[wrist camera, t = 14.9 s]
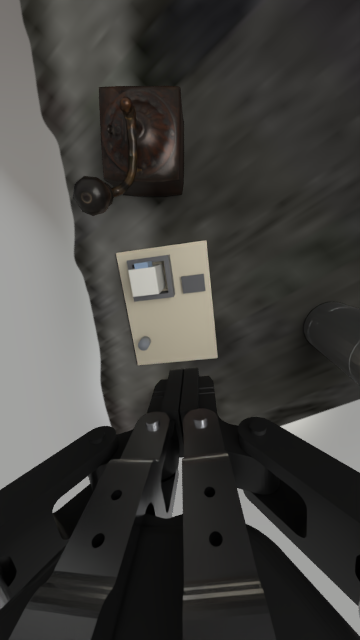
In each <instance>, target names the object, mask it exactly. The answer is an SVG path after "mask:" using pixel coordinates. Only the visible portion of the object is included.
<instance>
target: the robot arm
mask: <svg viewBox="0 0 360 640" xmlns="http://www.w3.org/2000/svg"><path fill="white" fill-rule="evenodd" d="M304 334H305V337H306V339H307V340H308V342H309V343H310V344H311V345H313V346H314V347H315V348H316V349H317V350H319V351H320V352H321V353H322V354H323V355H324V356H326V357H327V358H328V359H329V360H330V361H331V362H333V363H334V364H335V365H336V366H337V367H339V368H340V369H341V370H342V371H343V372H345V373H346V374H347V375H348V376H349V377H350V378H352V379H353V380H354V381H355V382H356V383H358V384H359V385H360V309H359V308H357V307H351V306H348V305H346V304H343V303H340V302H327V303H324V304H321V305H319V306H317V307H316V308H315V309H313V310H312V311H311V312H310V314H309V315H308V317H307V318H306V321H305V323H304ZM179 457H184V458H183V459H182V486H183V514H182V515H178V516H175V517H172V512H173V506H174V500H175V493H176V488H177V482H178V475H179V473H178V463H179ZM87 476H88V477H89V480H90V483H91V484H89V485H88V486H87V487H86V488H85V489H83V490H82V491H81V492H80V493H78V494H77V495H76V496H75V497H74V498H73V499H71V500H70V501H69V502H68V503H66V504H65V505H64V506H63V507H62V508H60V509H59V510H58V511H56V512H55V513H52V510H53V507H54V505H55V503H56V502H57V500H58V499H59V498H60V497H61V496H63V495H64V494H65V493H67V492H68V491H69V490H70V489H72V488H73V487H74V486H75V485H77V484H78V483H79V482H81V481H82V480H83V479H84V478H86V477H87ZM237 488H239V489H243V491H244V494H245V496H246V497H247V498H248V499H249V500H250V501H251V502H252V503H253V504H254V505H255V506H256V507H257V508H258V509H259V510H260V511H261V512H262V513H263V514H264V515H265V516H266V517H267V518H268V519H269V520H270V521H271V522H272V523H273V524H274V525H275V526H276V527H277V528H278V529H279V530H280V531H281V532H282V533H283V534H285V535H286V536H287V537H288V538H289V539H290V540H291V541H292V542H293V543H294V544H295V545H296V546H297V547H298V548H299V549H300V550H301V551H302V552H303V553H304V554H305V555H306V556H307V557H308V558H309V559H310V560H311V561H312V562H313V563H314V564H316V566H317V567H318V568H319V569H321V570H322V571H323V572H324V573H325V574H326V575H327V576H328V577H329V578H330V579H331V580H332V581H333V582H334V583H335V584H336V585H337V586H338V587H339V588H340V589H341V590H342V591H343V592H344V593H345V594H346V595H347V596H348V597H349V598H350V599H351V600H352V601H353V602H354V603H356V604H357V605H358V606H359V616H360V473H359V472H357V471H356V470H354V469H352V468H350V467H349V466H347V465H345V464H343V463H341V462H340V461H338V460H337V459H335V458H333V457H331V456H330V455H328V454H326V453H325V452H323V451H321V450H319V449H318V448H316V447H314V446H312V445H311V444H309V443H307V442H306V441H304V440H302V439H300V438H299V437H297V436H295V435H294V434H292V433H290V432H288V431H287V430H285V429H283V428H281V427H280V426H278V425H276V424H275V423H273V422H271V421H269V420H267V419H265V418H260V417H251V418H247V419H245V420H243V421H242V422H241V423H240V424H239V426H237V425H232V424H228V423H226V422H224V421H223V420H221V419H220V418H219V416H218V414H217V408H216V400H215V392H214V383H213V380H212V379H211V378H210V377H209V376H201V377H199V371H198V368H186V369H175V370H170V372H169V377H168V379H165V380H160V381H159V382H158V383H157V385H156V386H155V389H154V393H153V395H152V399H151V402H150V405H149V408H148V412H147V414H145V415H143V416H142V417H141V418H140V419H139V420H138V421H137V423H136V425H135V427H134V429H133V430H131V431H128V432H124V433H121V434H118V435H116V431H115V429H114V428H112V427H110V426H102V427H98V428H95V429H93V430H91V431H89V432H88V433H86V434H85V435H83V436H82V437H80V438H79V439H77V440H76V441H74V442H73V443H71V444H70V445H68V446H67V447H65V448H63V449H62V450H60V451H59V452H57V453H56V454H54V455H53V456H51V457H50V458H48V459H47V460H45V461H44V462H42V463H41V464H39V465H38V466H36V467H34V468H33V469H31V470H30V471H29V472H27V473H25V474H24V475H22V476H21V477H19V478H18V479H16V480H15V481H13V482H12V483H10V484H9V485H7V486H6V487H4V488H3V489H1V490H0V640H360V636H359V635H358V634H357V633H356V632H355V631H354V630H353V629H352V627H351V626H350V625H349V624H348V623H347V622H346V621H345V620H344V618H343V617H342V616H341V615H340V614H339V613H338V612H337V611H336V610H335V609H334V608H333V606H332V605H331V604H330V603H329V602H328V601H327V600H326V599H325V598H324V597H323V595H322V594H320V592H319V591H318V590H317V589H316V588H315V587H314V586H313V584H312V583H311V582H310V581H309V580H308V579H307V578H306V577H305V576H304V574H303V573H302V572H301V571H300V570H299V569H298V568H297V567H296V566H295V565H294V563H292V561H291V560H290V559H289V558H288V557H287V556H286V555H285V553H284V552H282V550H281V549H280V548H279V547H278V546H277V545H276V544H275V543H274V542H273V541H272V540H270V539H269V538H268V537H267V536H266V535H264V534H263V533H261V532H260V531H259V530H257V529H255V528H253V527H252V526H249V525H247V524H245V520H244V516H243V512H242V508H241V503H240V500H239V495H238V491H237Z"/></svg>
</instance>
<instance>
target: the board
mask: <svg viewBox="0 0 360 640" xmlns="http://www.w3.org/2000/svg"><path fill="white" fill-rule="evenodd" d="M116 256H117V261H118V266H119V271H120V276H121V281H122V286H123V292H124V297H125V302H126V307H127V312H128V317H129V322H130V327H131V332H132V337H133V342H134V347H135V352H136V357H137V362H138V365H146V364H157V363H168V362H179V361H190V360H201V359H212V358H218V356H217V346H216V335H215V325H214V315H213V305H212V294H211V284H210V274H209V264H208V253H207V243H206V241H198V242H191V243H184V244H177V245H170V246H163V247H156V248H149V249H141V250H134V251H127V252H120V253H116ZM147 261H152V265H155V264H163V270H164V277H165V284H166V286H165V288H164V289H163V290H162V291H161V292H160V293H159V294H154V295H145V296H137V297H133V293H132V288H131V282H130V277H129V271H128V270H131V269H134V268H135V267H134V264H135V263H139V262H147Z"/></svg>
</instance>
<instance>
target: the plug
mask: <svg viewBox="0 0 360 640" xmlns="http://www.w3.org/2000/svg"><path fill="white" fill-rule="evenodd" d="M134 267H135V268H134V269H131V270H128V271H129V277H130V282H131V288H132V293H133V297H137V296H145V295H154V294H159V293H160V292H161V291H162V290H163V289H164V288H165V286H166V284H165V277H164V270H163V264H155V265H152V261H147V262H139V263H135V264H134Z"/></svg>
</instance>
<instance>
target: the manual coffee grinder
mask: <svg viewBox="0 0 360 640" xmlns="http://www.w3.org/2000/svg"><path fill="white" fill-rule="evenodd" d="M99 106H100V126H101V143H102V161H103V173H104V179H105V180H106V181H107V182H109V183H110V184H111V185H113V186H114V188H111V187H110V186H109V185H108V184H106V183H104V182H103V181H101V180H100V179H98V178H97V177H88V176H84V177H82V178H81V179H80V180H78V181H77V182H76V183H75V186H74V194H73V198H74V200H75V201H76V203H77V204H78V206H79V207H80V208H81V210H82V212H85V213H87V214H90V215H92V216H94V215H97V214H101V213H104V212H105V211H106V210H107V209H108V207H109V206H110V205H111V204H112V202H113V198H115V197H117V196H119V195H122V194H123V195H131V196H149V197H166V196H173V195H181V194H182V191H183V184H184V121H183V114H182V103H181V90H180V87H178V86H116V87H99Z"/></svg>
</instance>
